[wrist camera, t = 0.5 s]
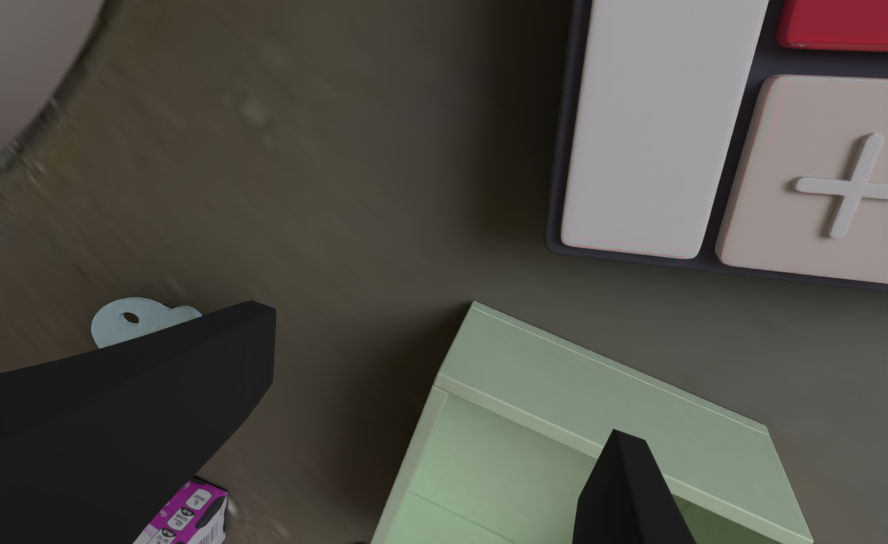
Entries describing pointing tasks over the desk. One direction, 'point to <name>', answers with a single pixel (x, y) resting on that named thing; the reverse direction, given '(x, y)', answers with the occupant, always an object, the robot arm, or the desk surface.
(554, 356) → the green storage bin
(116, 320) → the pacifier
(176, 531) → the candy bar box
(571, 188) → the calculator
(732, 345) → the desk surface
